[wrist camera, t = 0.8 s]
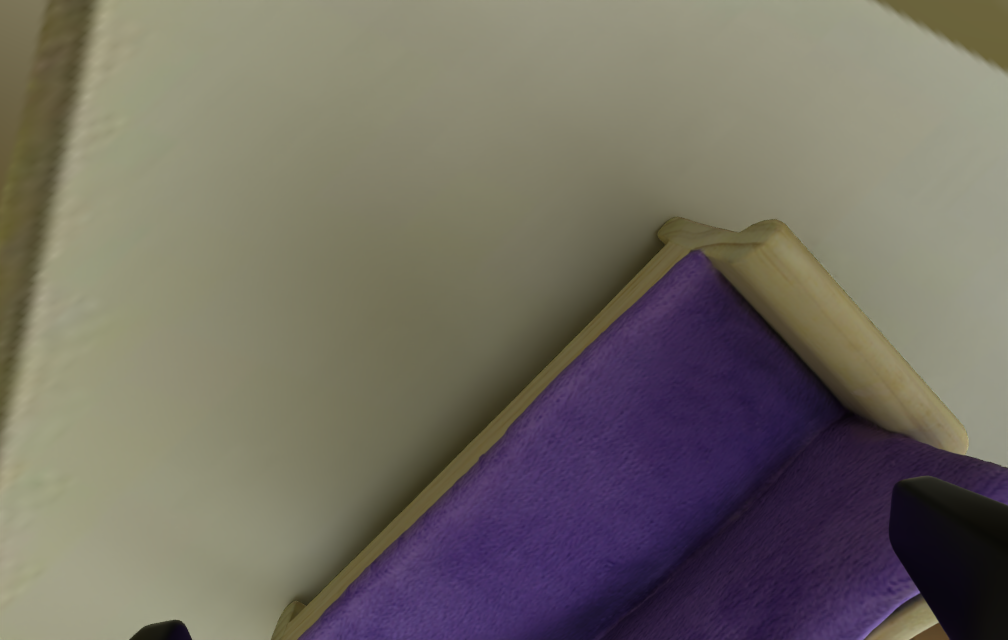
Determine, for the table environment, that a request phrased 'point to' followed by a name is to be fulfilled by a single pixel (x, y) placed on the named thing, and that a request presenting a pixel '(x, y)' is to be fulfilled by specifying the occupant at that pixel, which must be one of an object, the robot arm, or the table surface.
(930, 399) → the toy sofa
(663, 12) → the table surface
